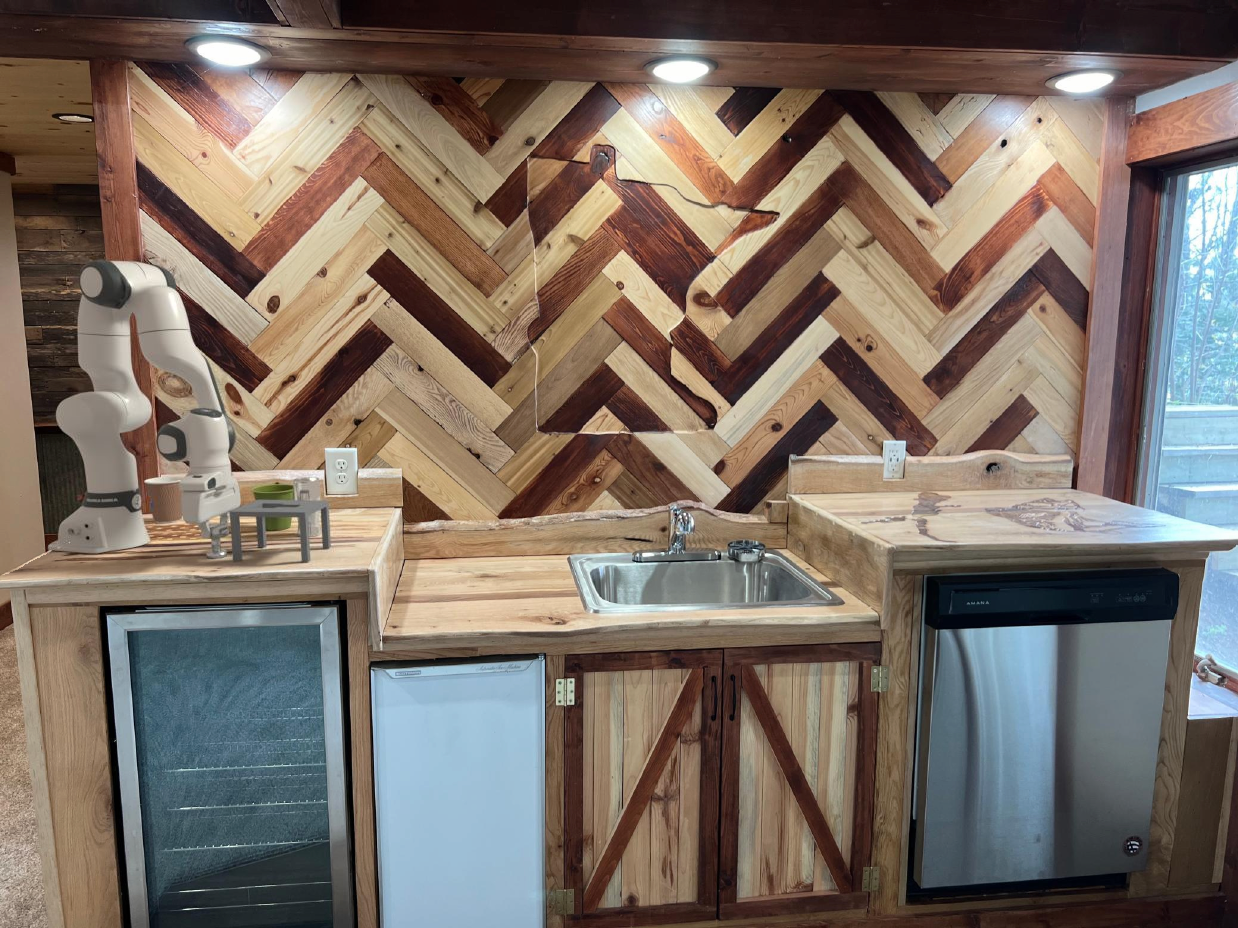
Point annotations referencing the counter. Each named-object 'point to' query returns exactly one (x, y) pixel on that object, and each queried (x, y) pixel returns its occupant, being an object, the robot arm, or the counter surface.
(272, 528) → the plant pot
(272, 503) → the keyhole stand
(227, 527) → the steel peg
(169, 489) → the coffee cup
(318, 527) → the beer glass
